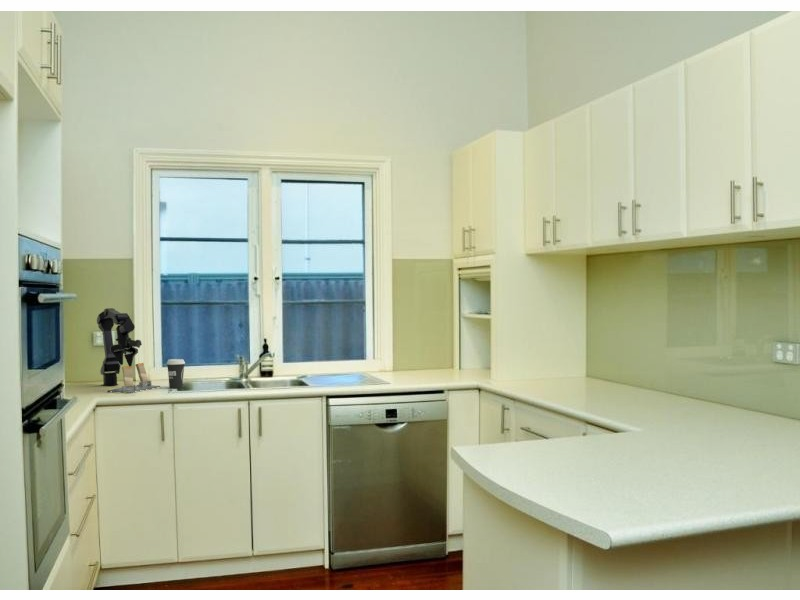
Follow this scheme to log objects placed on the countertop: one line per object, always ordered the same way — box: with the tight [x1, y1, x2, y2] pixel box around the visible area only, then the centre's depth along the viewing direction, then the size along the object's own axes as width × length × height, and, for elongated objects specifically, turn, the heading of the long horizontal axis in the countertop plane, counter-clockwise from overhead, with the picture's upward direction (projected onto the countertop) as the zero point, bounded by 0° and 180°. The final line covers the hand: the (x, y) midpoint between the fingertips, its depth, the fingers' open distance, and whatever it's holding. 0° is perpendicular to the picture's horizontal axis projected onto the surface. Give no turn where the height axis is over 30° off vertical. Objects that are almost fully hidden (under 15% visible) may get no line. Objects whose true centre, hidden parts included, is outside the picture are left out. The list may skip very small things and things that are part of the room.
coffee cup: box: [166, 358, 186, 390], centre depth 355 cm, size 10×10×15 cm
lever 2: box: [135, 362, 149, 383], centre depth 357 cm, size 2×4×10 cm, turn 160°
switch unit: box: [106, 380, 161, 394], centre depth 349 cm, size 14×23×3 cm, turn 160°
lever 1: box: [121, 365, 135, 387], centre depth 342 cm, size 2×4×10 cm, turn 129°
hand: (126, 365), depth 347 cm, fingers open, 9 cm apart
